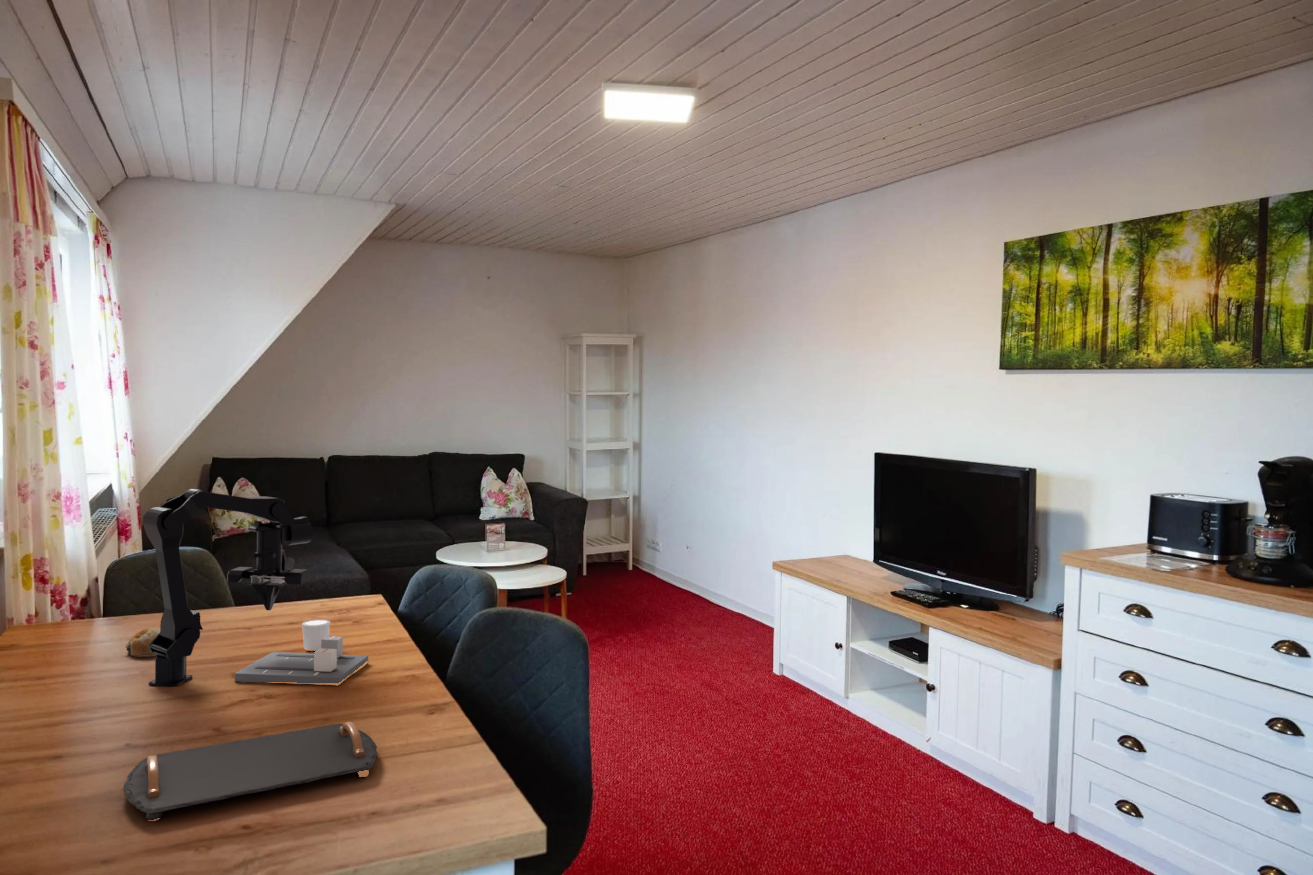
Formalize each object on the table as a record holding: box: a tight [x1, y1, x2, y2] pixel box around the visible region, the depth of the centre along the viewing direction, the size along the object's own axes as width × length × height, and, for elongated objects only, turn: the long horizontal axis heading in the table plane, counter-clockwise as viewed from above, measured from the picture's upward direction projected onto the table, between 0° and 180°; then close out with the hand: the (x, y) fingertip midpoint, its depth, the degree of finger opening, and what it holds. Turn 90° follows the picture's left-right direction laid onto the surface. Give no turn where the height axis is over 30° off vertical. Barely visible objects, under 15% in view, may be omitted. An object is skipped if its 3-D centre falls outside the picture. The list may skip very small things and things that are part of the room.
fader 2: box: [313, 648, 337, 672], centre depth 193 cm, size 3×4×4 cm
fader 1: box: [321, 635, 344, 658], centre depth 203 cm, size 3×4×4 cm
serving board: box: [122, 721, 378, 821], centre depth 143 cm, size 39×23×6 cm, turn 122°
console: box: [234, 651, 369, 683], centre depth 198 cm, size 17×24×2 cm
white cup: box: [301, 619, 331, 651], centre depth 217 cm, size 7×7×7 cm
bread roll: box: [124, 627, 160, 658], centre depth 210 cm, size 10×10×8 cm
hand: (268, 609), depth 208 cm, fingers closed
